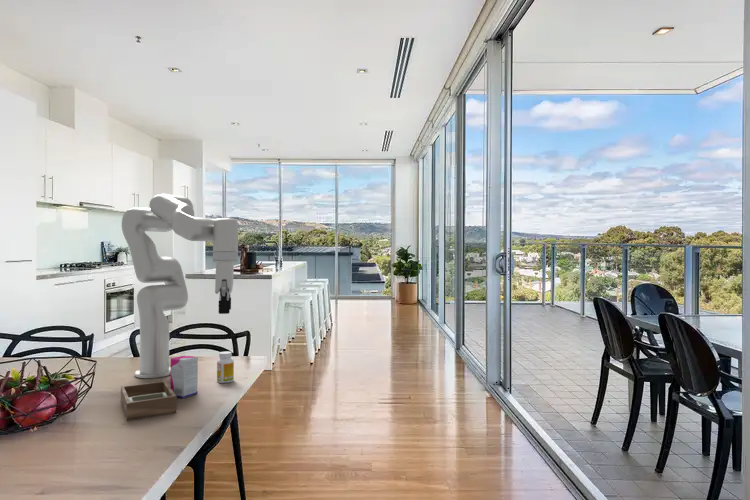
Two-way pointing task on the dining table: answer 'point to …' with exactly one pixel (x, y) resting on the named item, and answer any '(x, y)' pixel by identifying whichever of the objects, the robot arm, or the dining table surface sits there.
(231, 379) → the supplement bottle
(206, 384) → the dining table surface
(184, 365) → the supplement box
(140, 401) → the walnut box
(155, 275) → the robot arm
